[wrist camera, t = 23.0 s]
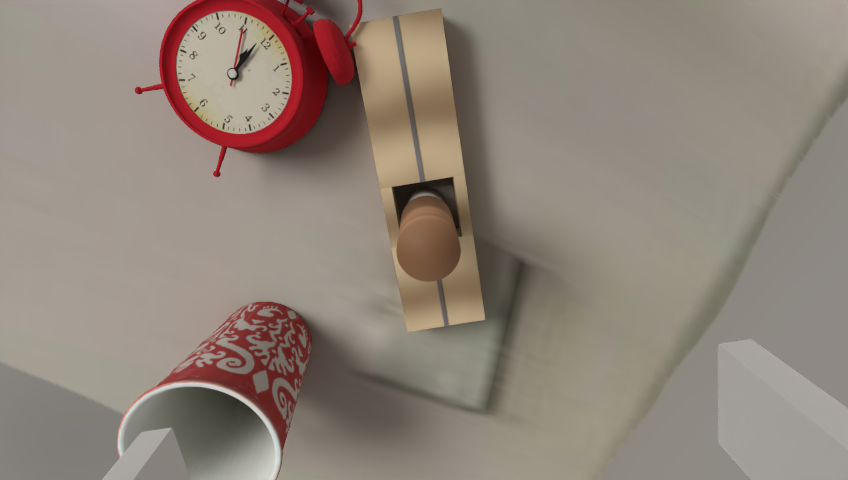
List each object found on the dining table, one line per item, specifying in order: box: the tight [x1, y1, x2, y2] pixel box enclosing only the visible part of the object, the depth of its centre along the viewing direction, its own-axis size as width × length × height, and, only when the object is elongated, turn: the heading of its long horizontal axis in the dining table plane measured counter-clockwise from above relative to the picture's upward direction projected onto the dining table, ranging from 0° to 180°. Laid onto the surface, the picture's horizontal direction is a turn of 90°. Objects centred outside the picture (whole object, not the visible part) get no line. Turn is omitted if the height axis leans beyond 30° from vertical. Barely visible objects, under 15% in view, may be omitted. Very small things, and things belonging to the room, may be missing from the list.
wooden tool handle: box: [396, 187, 461, 282], centre depth 32 cm, size 3×3×12 cm
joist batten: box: [349, 9, 485, 332], centre depth 36 cm, size 22×6×3 cm, turn 9°
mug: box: [117, 302, 312, 480], centre depth 34 cm, size 13×9×14 cm
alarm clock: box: [135, 0, 362, 177], centre depth 32 cm, size 10×6×15 cm
